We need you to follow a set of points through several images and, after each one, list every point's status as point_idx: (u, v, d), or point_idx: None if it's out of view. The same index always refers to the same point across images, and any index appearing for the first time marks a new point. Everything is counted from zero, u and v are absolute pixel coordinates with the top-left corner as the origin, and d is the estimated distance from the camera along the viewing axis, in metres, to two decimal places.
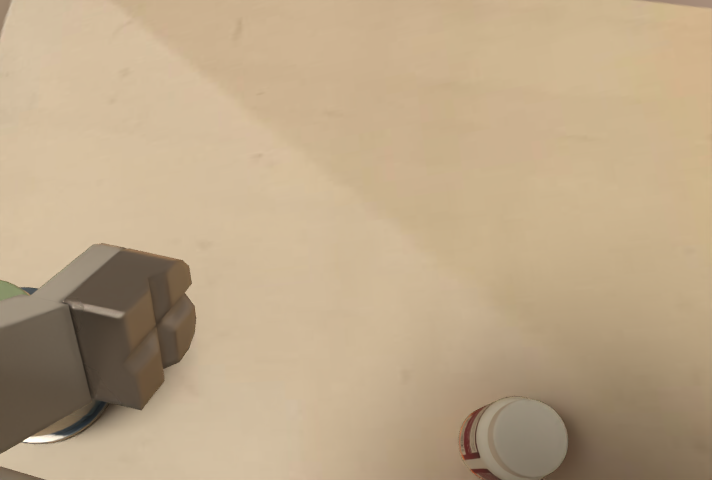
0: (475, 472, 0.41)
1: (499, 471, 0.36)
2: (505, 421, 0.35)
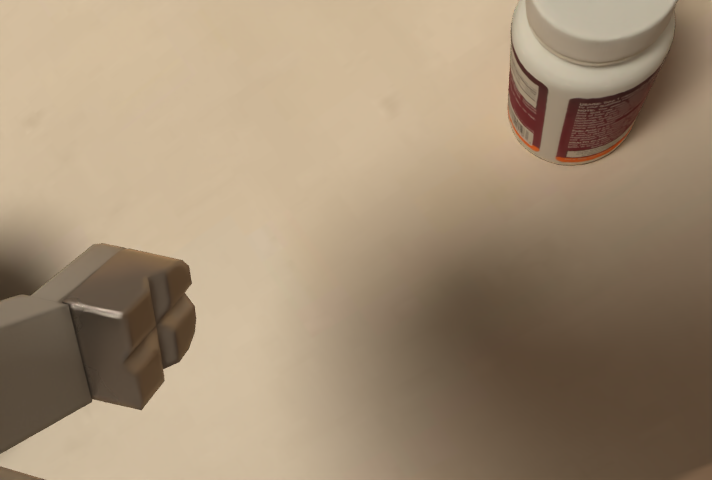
0: (564, 153, 0.24)
1: (590, 81, 0.19)
2: None
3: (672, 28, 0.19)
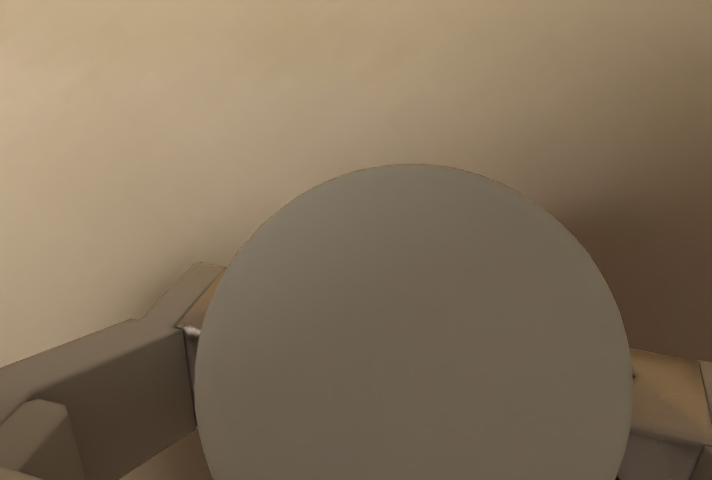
0: None
1: None
2: (237, 370, 0.06)
3: None
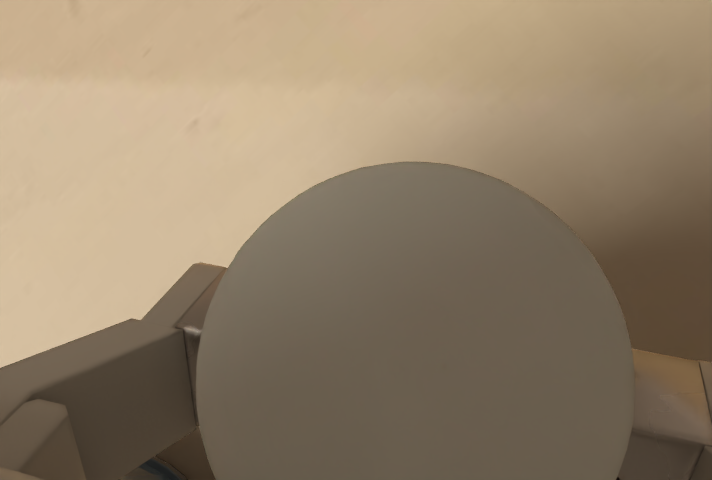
0: None
1: None
2: (238, 368, 0.06)
3: None
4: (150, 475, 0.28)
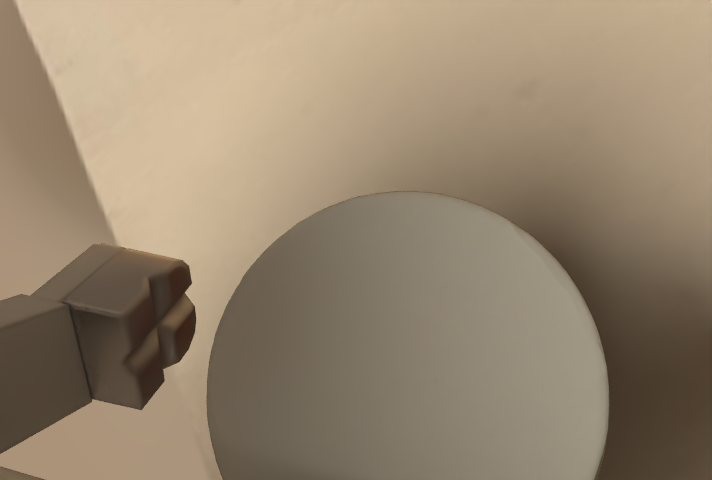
0: None
1: None
2: (246, 384, 0.07)
3: None
4: None
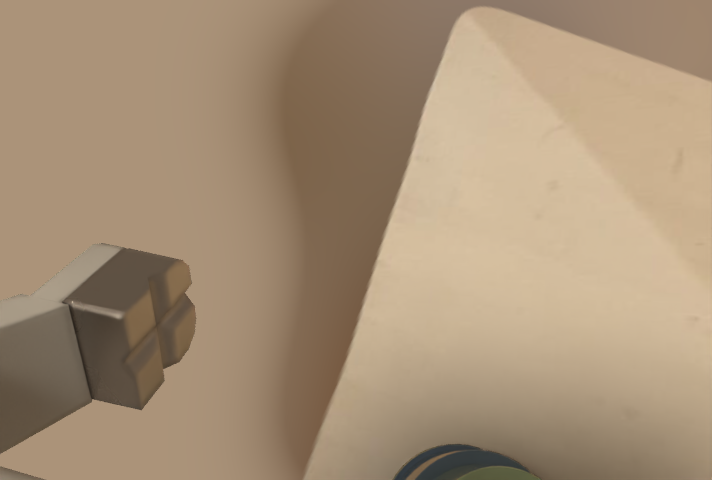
0: None
1: None
2: None
3: None
4: None
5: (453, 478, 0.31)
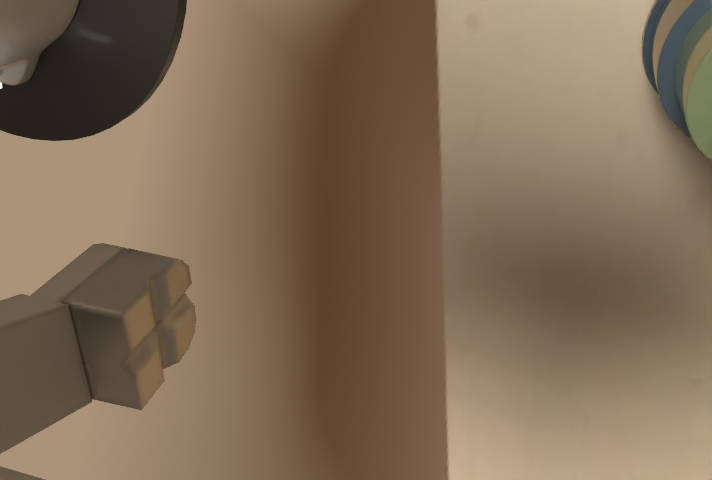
0: None
1: None
2: None
3: None
4: None
5: None
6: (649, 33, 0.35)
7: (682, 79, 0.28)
